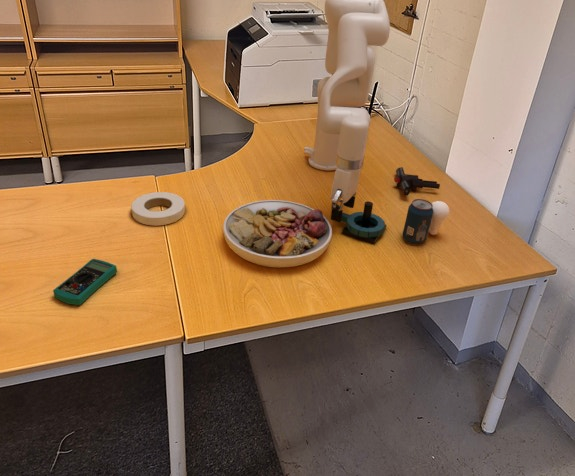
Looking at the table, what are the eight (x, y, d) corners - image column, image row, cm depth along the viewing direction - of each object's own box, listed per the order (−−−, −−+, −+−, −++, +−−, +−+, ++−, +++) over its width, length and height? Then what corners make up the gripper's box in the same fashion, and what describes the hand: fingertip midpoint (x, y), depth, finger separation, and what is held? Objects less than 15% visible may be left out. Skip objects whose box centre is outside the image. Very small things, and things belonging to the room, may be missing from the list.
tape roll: (121, 216, 151) (119, 208, 150) (154, 195, 163) (153, 187, 161) (164, 231, 146) (163, 223, 144) (195, 208, 158) (195, 200, 156)
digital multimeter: (52, 299, 120) (49, 289, 118) (94, 265, 131) (92, 255, 130) (78, 308, 118) (76, 299, 116) (118, 272, 129) (117, 263, 128)
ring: (389, 224, 154) (390, 218, 153) (376, 242, 146) (377, 236, 145) (342, 209, 160) (343, 204, 159) (327, 226, 151) (328, 220, 150)
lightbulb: (443, 231, 156) (452, 199, 150) (441, 242, 151) (450, 209, 145) (423, 227, 157) (431, 195, 151) (420, 237, 152) (428, 204, 146)
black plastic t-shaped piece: (435, 167, 184) (393, 163, 185) (445, 187, 167) (398, 182, 168) (432, 181, 186) (390, 177, 187) (441, 202, 169) (395, 197, 170)
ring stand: (341, 233, 151) (346, 205, 146) (354, 219, 159) (359, 191, 154) (374, 244, 148) (379, 216, 142) (385, 228, 155) (391, 201, 150)
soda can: (410, 230, 155) (418, 195, 149) (430, 240, 151) (439, 205, 145) (397, 238, 151) (404, 202, 144) (417, 249, 147) (426, 212, 140)
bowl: (249, 285, 129) (250, 259, 124) (207, 225, 150) (207, 201, 146) (350, 258, 141) (354, 234, 137) (298, 206, 163) (300, 184, 158)
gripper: (349, 147, 152) (341, 198, 162) (324, 169, 139) (318, 222, 149) (373, 154, 150) (364, 205, 159) (350, 176, 137) (342, 230, 146)
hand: (342, 213), depth 154 cm, fingers open, 9 cm apart
